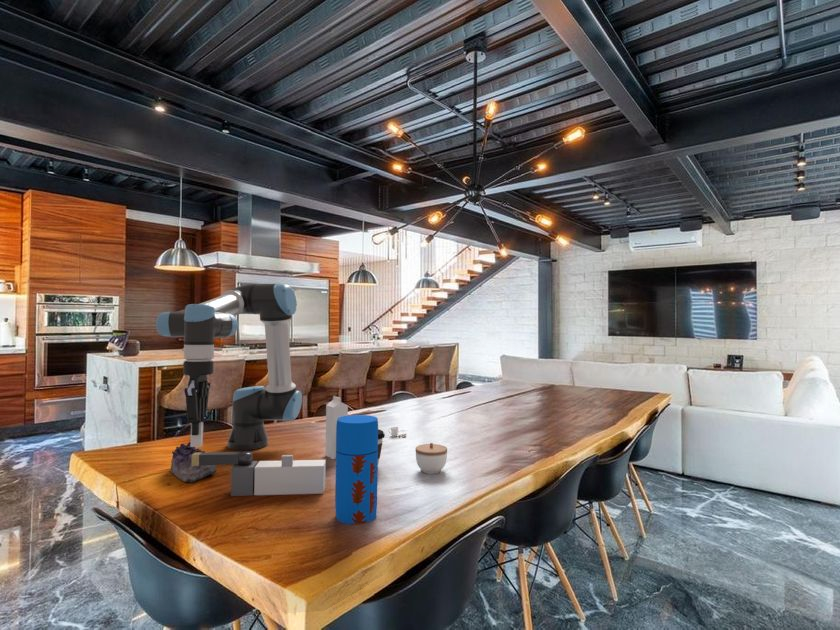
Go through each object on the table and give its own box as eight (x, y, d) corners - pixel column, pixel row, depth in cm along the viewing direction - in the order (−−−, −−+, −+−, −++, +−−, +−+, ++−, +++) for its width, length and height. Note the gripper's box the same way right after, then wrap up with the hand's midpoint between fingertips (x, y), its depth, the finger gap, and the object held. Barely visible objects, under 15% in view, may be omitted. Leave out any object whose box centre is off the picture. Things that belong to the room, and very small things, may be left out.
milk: (332, 459, 168) (333, 398, 168) (325, 455, 173) (325, 396, 173) (347, 456, 172) (348, 397, 172) (340, 452, 176) (340, 394, 176)
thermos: (337, 507, 125) (338, 414, 126) (377, 506, 126) (378, 414, 126) (333, 525, 114) (334, 423, 115) (376, 524, 115) (378, 423, 116)
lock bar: (195, 462, 136) (196, 451, 136) (253, 461, 138) (253, 450, 138) (190, 466, 132) (190, 455, 132) (250, 465, 134) (250, 454, 134)
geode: (156, 472, 152) (160, 441, 154) (191, 469, 161) (195, 439, 162) (182, 484, 139) (186, 450, 141) (219, 480, 148) (223, 448, 149)
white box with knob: (236, 488, 138) (237, 451, 139) (325, 486, 141) (325, 449, 141) (230, 495, 132) (231, 457, 133) (323, 493, 135) (323, 455, 135)
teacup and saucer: (408, 436, 204) (408, 427, 204) (398, 440, 197) (398, 431, 197) (392, 434, 209) (392, 424, 209) (381, 437, 202) (382, 428, 202)
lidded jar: (424, 478, 149) (424, 449, 150) (409, 468, 159) (410, 441, 159) (453, 473, 154) (453, 445, 154) (437, 464, 164) (437, 437, 164)
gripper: (193, 358, 134) (191, 440, 134) (174, 361, 121) (172, 452, 121) (220, 358, 135) (218, 440, 134) (204, 362, 122) (202, 452, 121)
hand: (196, 446), depth 128 cm, fingers closed
